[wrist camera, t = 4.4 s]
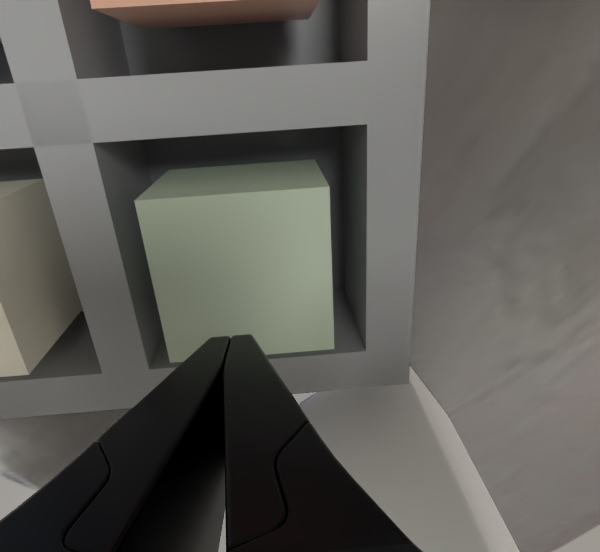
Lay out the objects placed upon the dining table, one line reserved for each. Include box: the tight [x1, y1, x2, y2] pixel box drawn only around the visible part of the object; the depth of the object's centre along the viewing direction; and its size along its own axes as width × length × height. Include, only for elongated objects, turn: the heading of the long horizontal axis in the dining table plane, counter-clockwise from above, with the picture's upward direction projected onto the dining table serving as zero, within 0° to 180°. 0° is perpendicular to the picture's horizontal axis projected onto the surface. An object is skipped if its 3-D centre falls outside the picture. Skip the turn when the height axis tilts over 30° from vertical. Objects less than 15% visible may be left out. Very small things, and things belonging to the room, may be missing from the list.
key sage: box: [134, 159, 334, 363], centre depth 14 cm, size 5×5×4 cm
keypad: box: [0, 0, 430, 419], centre depth 14 cm, size 20×20×5 cm
